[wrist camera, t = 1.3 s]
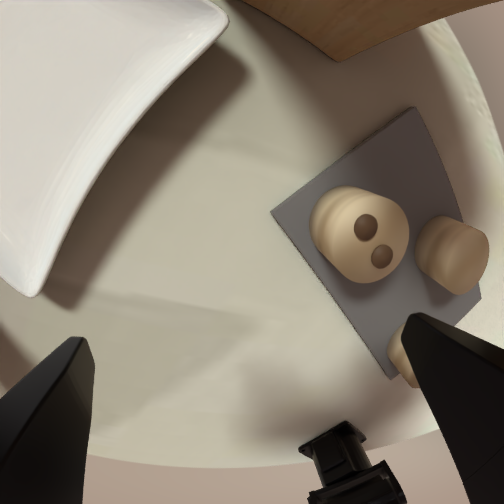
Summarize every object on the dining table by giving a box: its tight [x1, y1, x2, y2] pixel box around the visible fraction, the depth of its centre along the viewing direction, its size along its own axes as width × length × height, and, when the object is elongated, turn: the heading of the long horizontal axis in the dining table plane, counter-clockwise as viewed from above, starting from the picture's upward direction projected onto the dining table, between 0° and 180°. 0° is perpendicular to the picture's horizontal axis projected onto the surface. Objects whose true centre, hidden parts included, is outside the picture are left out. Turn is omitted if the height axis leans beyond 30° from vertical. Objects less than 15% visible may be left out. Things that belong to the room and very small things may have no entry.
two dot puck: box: [309, 185, 409, 283], centre depth 18 cm, size 5×5×4 cm
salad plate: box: [0, 0, 230, 298], centre depth 12 cm, size 21×21×3 cm
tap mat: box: [270, 107, 481, 380], centre depth 22 cm, size 21×13×1 cm, turn 37°
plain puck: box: [415, 215, 489, 295], centre depth 20 cm, size 5×5×4 cm
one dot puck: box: [387, 322, 420, 388], centre depth 23 cm, size 5×5×4 cm
